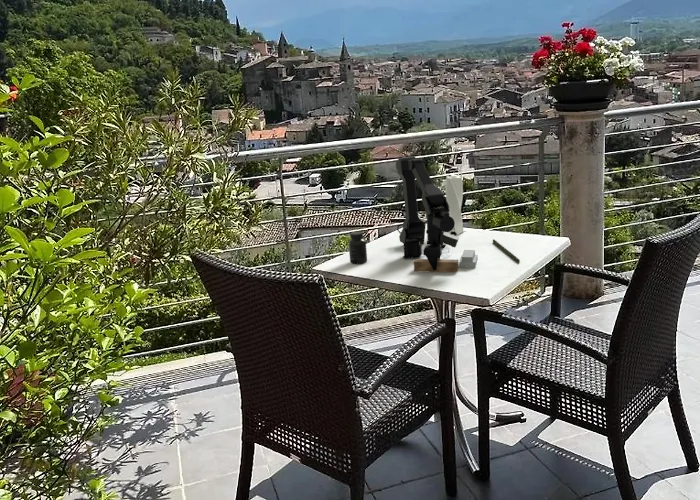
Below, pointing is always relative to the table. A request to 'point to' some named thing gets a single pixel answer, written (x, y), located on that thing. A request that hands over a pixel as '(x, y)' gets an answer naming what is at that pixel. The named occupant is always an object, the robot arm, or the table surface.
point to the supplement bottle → (357, 248)
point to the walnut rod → (442, 265)
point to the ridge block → (468, 259)
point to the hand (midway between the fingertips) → (436, 267)
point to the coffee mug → (424, 228)
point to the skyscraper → (455, 201)
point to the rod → (506, 251)
